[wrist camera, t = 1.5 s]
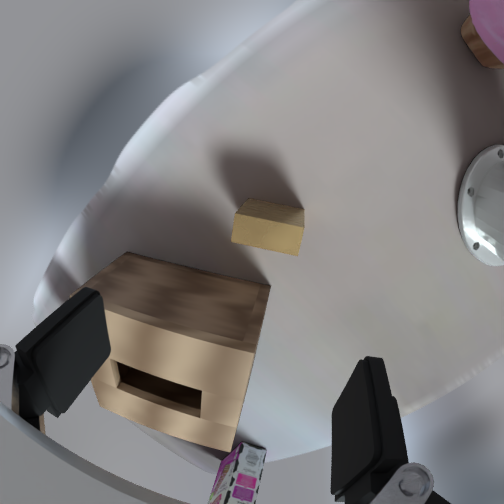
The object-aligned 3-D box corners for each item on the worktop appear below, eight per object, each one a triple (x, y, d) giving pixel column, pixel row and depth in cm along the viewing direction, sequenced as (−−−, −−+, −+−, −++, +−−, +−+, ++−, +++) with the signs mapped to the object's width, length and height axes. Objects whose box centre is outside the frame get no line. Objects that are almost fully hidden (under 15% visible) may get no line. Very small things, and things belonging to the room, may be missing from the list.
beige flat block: (304, 209, 25) (304, 227, 20) (299, 232, 26) (297, 256, 21) (248, 198, 26) (234, 213, 21) (245, 221, 27) (230, 241, 22)
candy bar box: (240, 439, 41) (217, 524, 26) (267, 448, 41) (251, 532, 26) (219, 460, 45) (197, 530, 30) (243, 468, 45) (225, 537, 30)
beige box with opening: (270, 285, 29) (254, 353, 20) (246, 389, 35) (230, 452, 26) (126, 251, 30) (69, 295, 21) (134, 356, 37) (99, 406, 27)
